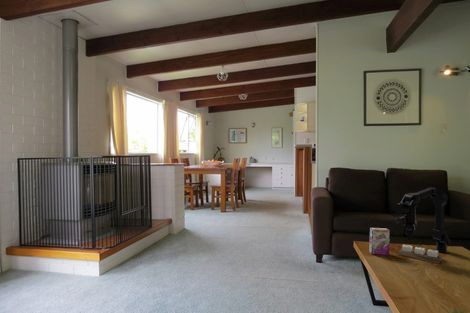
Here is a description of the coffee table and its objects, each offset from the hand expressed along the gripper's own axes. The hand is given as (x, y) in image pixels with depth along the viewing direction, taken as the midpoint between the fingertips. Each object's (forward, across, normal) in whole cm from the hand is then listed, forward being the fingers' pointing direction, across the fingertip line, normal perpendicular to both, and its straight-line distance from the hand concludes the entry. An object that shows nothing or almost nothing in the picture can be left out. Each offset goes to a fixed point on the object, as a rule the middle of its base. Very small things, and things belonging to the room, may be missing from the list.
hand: (409, 237), depth 194 cm
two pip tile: (+9, 0, +5) cm, 10 cm away
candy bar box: (+12, +9, -16) cm, 22 cm away
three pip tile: (+9, -1, -2) cm, 9 cm away
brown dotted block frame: (+11, 0, +6) cm, 13 cm away
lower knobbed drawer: (+9, 0, +12) cm, 15 cm away
